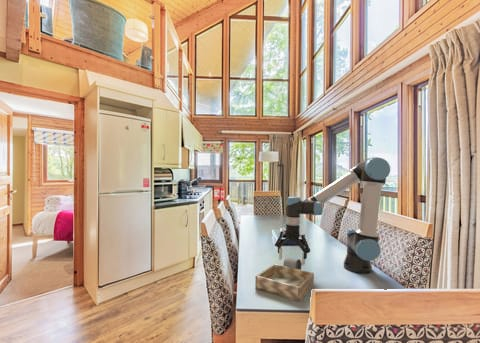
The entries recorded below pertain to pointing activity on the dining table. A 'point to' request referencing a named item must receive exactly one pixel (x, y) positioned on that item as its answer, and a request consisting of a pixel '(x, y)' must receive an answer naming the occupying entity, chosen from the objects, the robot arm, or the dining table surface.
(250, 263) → the dining table surface
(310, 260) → the dining table surface
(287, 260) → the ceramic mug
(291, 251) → the dining table surface
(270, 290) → the walled box
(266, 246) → the dining table surface
